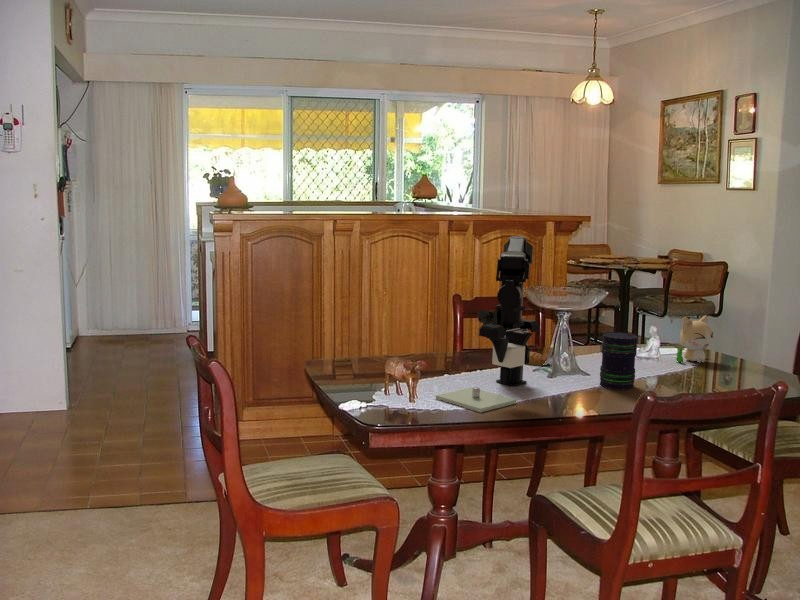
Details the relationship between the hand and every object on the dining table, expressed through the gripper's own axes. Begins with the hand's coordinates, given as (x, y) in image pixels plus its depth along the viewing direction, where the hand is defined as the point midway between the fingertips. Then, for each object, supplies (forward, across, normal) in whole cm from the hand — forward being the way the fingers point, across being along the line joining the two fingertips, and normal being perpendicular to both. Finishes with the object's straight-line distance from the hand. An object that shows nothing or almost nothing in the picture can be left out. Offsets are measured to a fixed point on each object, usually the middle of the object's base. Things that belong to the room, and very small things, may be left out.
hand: (508, 360), depth 222 cm
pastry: (+11, -44, -23) cm, 51 cm away
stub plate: (+11, +6, -5) cm, 14 cm away
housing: (+1, 0, 0) cm, 1 cm away
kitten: (+11, -88, +9) cm, 90 cm away
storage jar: (+11, -38, +10) cm, 41 cm away
